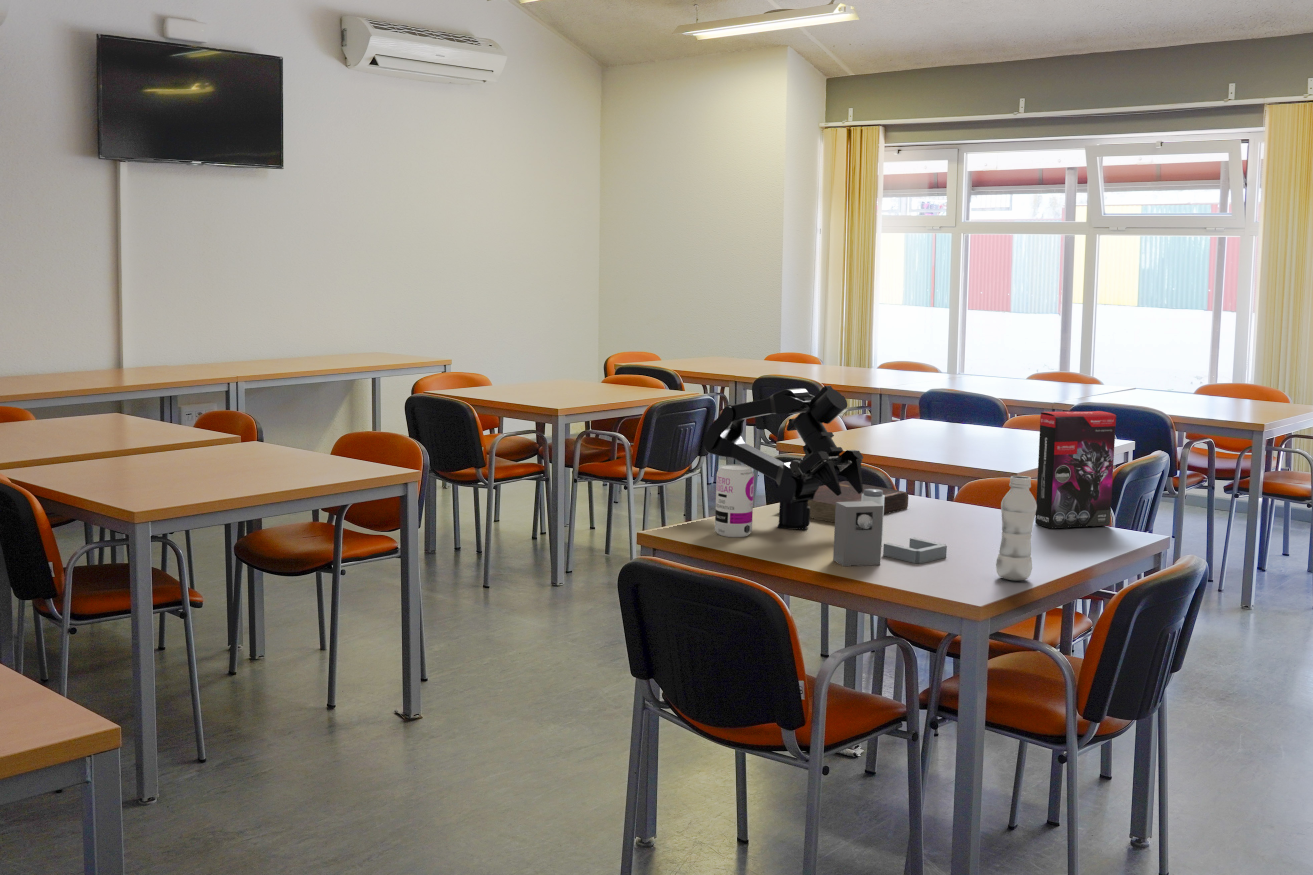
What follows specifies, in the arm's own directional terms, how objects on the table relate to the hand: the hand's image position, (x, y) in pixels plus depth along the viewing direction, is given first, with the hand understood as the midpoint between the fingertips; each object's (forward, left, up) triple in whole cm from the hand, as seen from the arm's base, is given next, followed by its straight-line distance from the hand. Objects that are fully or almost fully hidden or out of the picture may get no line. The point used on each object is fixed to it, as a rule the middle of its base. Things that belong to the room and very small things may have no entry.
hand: (850, 493), depth 250 cm
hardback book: (-3, +33, -11) cm, 34 cm away
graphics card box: (+51, +33, -10) cm, 61 cm away
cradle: (+14, -12, -10) cm, 21 cm away
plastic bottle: (+33, -26, -10) cm, 43 cm away
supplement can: (-25, -4, -10) cm, 27 cm away
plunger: (+3, -21, -3) cm, 21 cm away
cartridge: (+5, -5, -10) cm, 12 cm away
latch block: (+3, -22, -10) cm, 24 cm away
